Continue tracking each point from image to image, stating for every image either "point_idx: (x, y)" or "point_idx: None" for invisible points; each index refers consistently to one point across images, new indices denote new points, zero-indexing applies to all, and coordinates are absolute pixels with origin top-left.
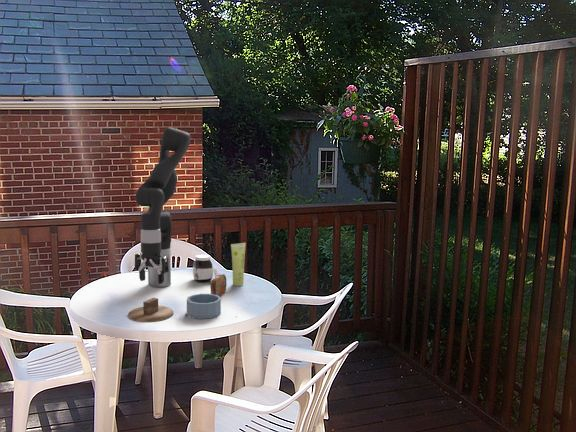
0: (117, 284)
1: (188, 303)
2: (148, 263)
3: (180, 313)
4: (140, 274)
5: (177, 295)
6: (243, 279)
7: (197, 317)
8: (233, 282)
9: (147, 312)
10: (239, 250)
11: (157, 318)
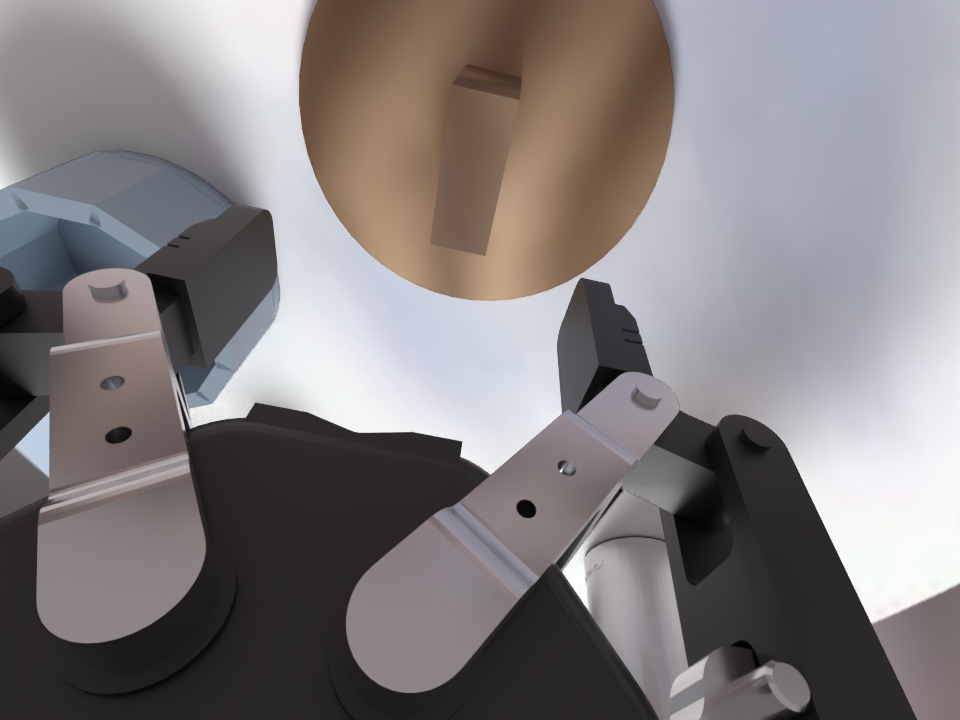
0: (862, 545)
1: (153, 225)
2: (372, 501)
3: (298, 223)
4: (615, 336)
5: (490, 471)
6: None
7: (111, 153)
8: None
9: (475, 70)
10: None
11: (350, 5)
